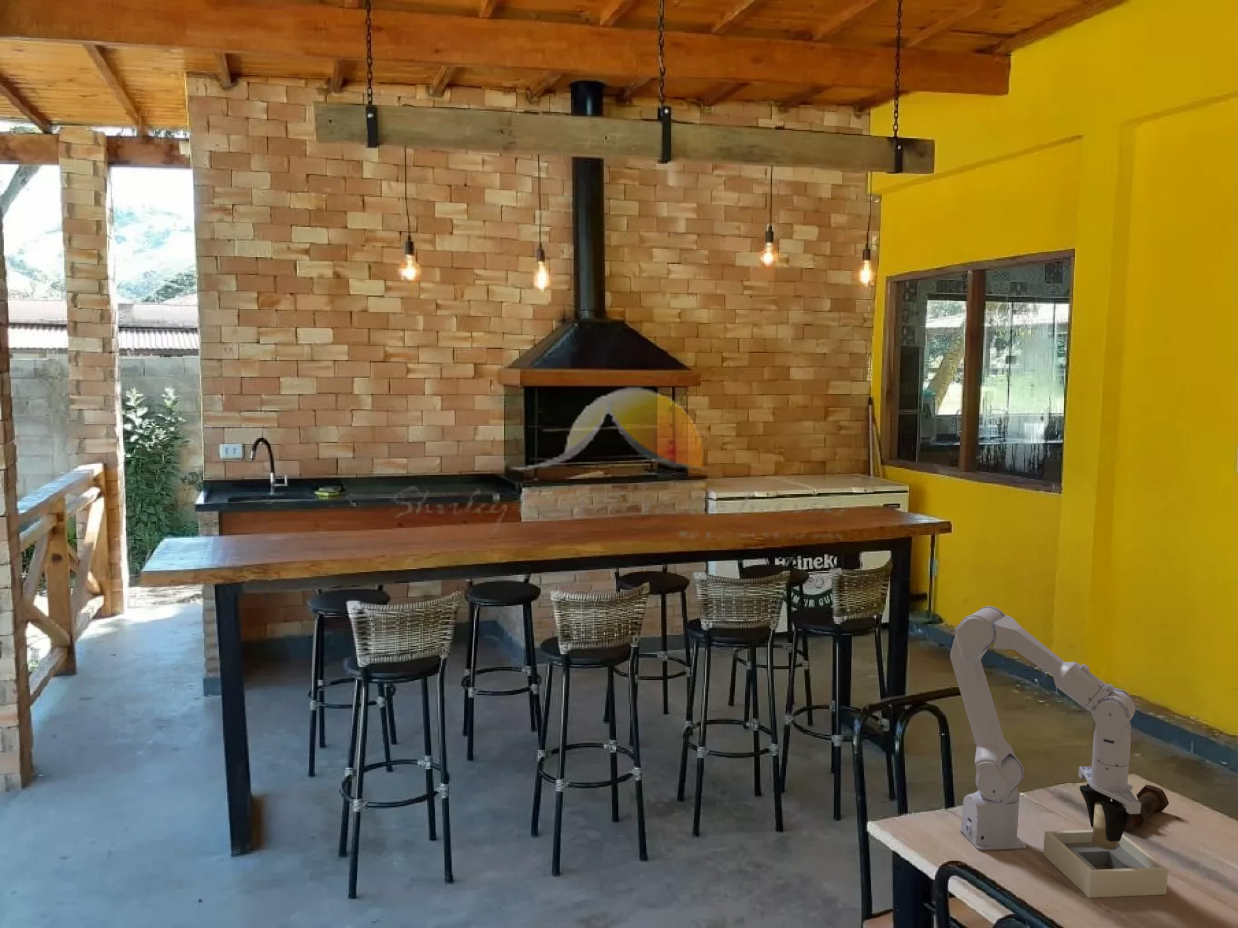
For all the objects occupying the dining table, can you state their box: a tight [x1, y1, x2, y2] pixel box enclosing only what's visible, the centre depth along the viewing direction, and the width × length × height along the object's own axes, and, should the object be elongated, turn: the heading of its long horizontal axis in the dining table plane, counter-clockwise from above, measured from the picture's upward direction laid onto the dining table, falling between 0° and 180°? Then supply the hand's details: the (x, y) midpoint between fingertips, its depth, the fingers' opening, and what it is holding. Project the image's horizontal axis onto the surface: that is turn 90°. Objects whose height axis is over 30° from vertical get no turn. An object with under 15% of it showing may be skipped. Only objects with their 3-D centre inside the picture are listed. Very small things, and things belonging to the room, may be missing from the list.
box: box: [1042, 829, 1169, 899], centre depth 163 cm, size 14×14×4 cm
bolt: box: [1124, 784, 1170, 831], centre depth 184 cm, size 6×5×15 cm
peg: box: [1092, 801, 1118, 850], centre depth 162 cm, size 4×4×7 cm
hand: (1105, 833), depth 163 cm, fingers closed on peg, 4 cm apart
